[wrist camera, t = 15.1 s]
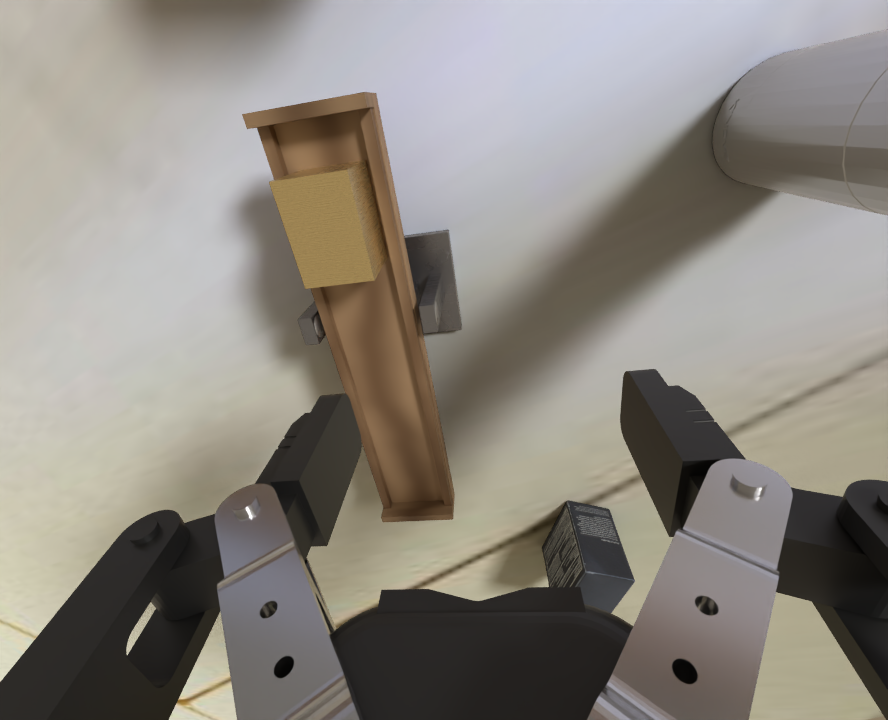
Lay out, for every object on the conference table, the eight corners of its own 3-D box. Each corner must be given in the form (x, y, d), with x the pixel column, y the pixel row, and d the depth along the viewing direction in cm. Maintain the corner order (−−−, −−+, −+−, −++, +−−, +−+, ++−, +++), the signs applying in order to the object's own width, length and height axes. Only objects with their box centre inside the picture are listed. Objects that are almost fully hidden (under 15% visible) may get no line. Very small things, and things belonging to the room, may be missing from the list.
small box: (583, 556, 61) (601, 632, 52) (540, 547, 61) (551, 622, 52) (612, 508, 56) (638, 583, 47) (566, 498, 56) (583, 572, 46)
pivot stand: (448, 229, 39) (441, 256, 31) (461, 325, 44) (458, 369, 36) (308, 248, 41) (268, 278, 33) (335, 338, 46) (306, 382, 38)
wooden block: (347, 169, 25) (374, 280, 28) (366, 159, 29) (387, 257, 33) (268, 182, 25) (305, 288, 29) (298, 170, 30) (327, 265, 33)
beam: (375, 93, 28) (364, 92, 25) (454, 493, 49) (453, 519, 46) (265, 113, 29) (242, 114, 26) (388, 496, 50) (382, 522, 47)
